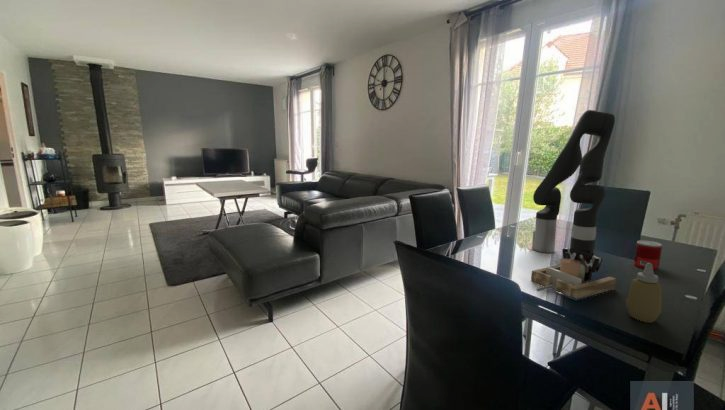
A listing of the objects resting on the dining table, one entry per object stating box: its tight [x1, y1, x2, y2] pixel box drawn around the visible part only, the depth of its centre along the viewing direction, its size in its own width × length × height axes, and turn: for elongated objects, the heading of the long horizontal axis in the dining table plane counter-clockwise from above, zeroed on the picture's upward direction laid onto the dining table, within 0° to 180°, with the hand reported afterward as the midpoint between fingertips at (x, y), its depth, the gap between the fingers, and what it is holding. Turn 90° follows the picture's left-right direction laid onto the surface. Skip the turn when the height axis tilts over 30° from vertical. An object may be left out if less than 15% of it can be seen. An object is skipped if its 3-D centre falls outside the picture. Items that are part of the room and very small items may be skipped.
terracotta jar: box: [560, 258, 580, 278], centre depth 115 cm, size 6×6×10 cm
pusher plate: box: [536, 266, 582, 292], centre depth 112 cm, size 13×13×6 cm
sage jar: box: [574, 259, 589, 284], centre depth 117 cm, size 6×6×9 cm
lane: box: [530, 263, 617, 299], centre depth 116 cm, size 18×21×5 cm
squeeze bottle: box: [625, 263, 663, 323], centre depth 92 cm, size 8×8×18 cm
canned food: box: [633, 239, 663, 271], centre depth 130 cm, size 8×8×11 cm
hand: (579, 277), depth 118 cm, fingers closed on sage jar, 5 cm apart
